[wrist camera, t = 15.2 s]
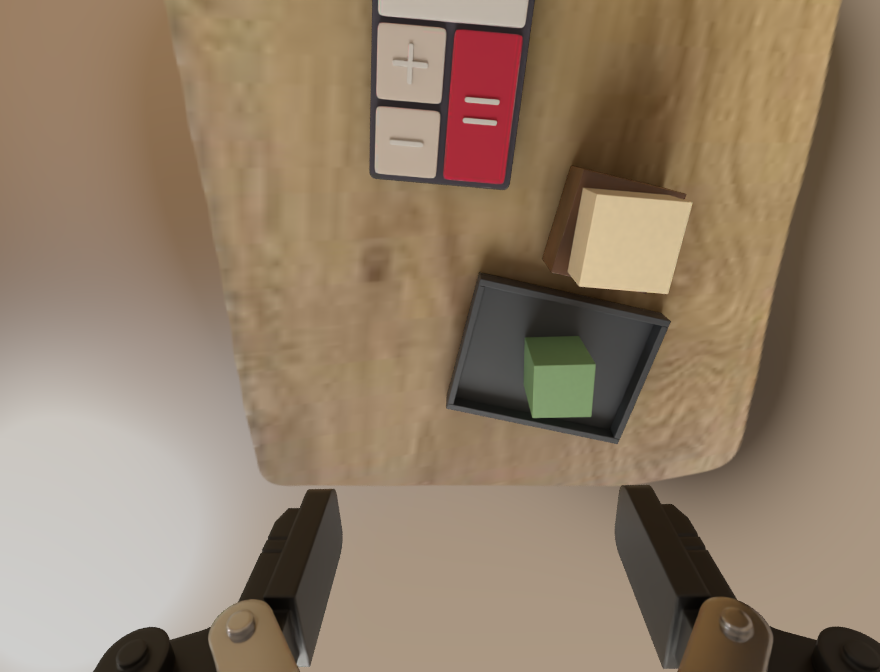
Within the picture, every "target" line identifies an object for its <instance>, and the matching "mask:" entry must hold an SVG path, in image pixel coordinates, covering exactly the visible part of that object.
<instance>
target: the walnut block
mask: <svg viewBox="0 0 880 672" xmlns="http://www.w3.org/2000/svg"><path fill="white" fill-rule="evenodd" d="M583 188H593V189H605V190H617V191H629V192H640V193H652V194H664V195H671V196H674V197H677V198H681V199H685V197H686V194H684V193H681V192H677V191H674V190H670V189H666V188H663V187H659V186H654V185H650V184H646V183H642V182H638V181H634V180H629V179H625V178H621V177H617V176H613V175H609V174H604V173H600V172H596V171H592V170H588V169H584V168H579V167H575V166H571V167H570V170H569V174H568V177H567V180H566V183H565V187H564V190H563V193H562V196H561V199H560V203H559V206H558V209H557V212H556V216H555V219H554V222H553V225H552V229H551V232H550V235H549V238H548V242H547V245H546V248H545V251H544V255H543V258H542V259H543V261H544V262H545V264H546V265H547V267H548V268H549V270H550V271H551V272H552V273H556V274H561V275H565V276H569V277H571V275H570V274H569V273H568V267H569V261H570V256H571V250H572V245H573V239H574V234H575V228H576V223H577V218H578V212H579V207H580V201H581V196H582V190H583ZM636 292H639V291H636ZM640 293H644V294H647V292H640Z"/></svg>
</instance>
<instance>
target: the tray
mask: <svg viewBox="0 0 880 672" xmlns="http://www.w3.org/2000/svg"><path fill="white" fill-rule="evenodd" d="M670 322H671V321H670V320H669V319H667V318H666V317H665V316H664V315H663V314H662V313H658V312H654V311H649V310H645V309H640V308H636V307H631V306H627V305H622V304H618V303H614V302H609V301H605V300H600V299H596V298H591V297H587V296H582V295H578V294H574V293H569V292H565V291H560V290H556V289H551V288H547V287H542V286H538V285H534V284H529V283H525V282H520V281H516V280H511V279H507V278H502V277H498V276H494V275H489V274H485V273H480V272H479V275H478V279H477V282H476V286H475V290H474V294H473V298H472V302H471V306H470V309H469V313H468V317H467V321H466V325H465V329H464V332H463V336H462V340H461V344H460V348H459V352H458V355H457V359H456V363H455V367H454V371H453V375H452V378H451V382H450V386H449V390H448V394H447V398H446V408H447V409H451V410H456V411H461V412H466V413H471V414H475V415H480V416H485V417H490V418H495V419H499V420H504V421H509V422H514V423H519V424H523V425H528V426H533V427H538V428H543V429H547V430H552V431H557V432H562V433H567V434H572V435H576V436H581V437H586V438H591V439H596V440H600V441H605V442H610V443H615V444H618V442H619V439H620V438H621V435H622V433H623V431H624V428H625V426H626V424H627V421H628V419H629V417H630V414H631V412H632V410H633V408H634V405H635V403H636V401H637V398H638V396H639V394H640V391H641V389H642V387H643V384H644V382H645V380H646V378H647V375H648V373H649V371H650V368H651V366H652V364H653V361H654V359H655V357H656V354H657V352H658V350H659V348H660V345H661V343H662V341H663V338H664V336H665V334H666V331H667V329H668V327H669V324H670ZM560 336H579V337H580V339H581V340H582V342H583V344H584V345H585V347H586V349H587V350H588V352H589V354H590V355H591V357H592V359H593V360H594V362H595V364H596V369H595V380H594V392H593V403H592V415H591V417H558V418H532V415H531V411H530V407H529V403H528V400H527V396H526V392H525V388H524V346H525V337H560Z"/></svg>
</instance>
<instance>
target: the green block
mask: <svg viewBox="0 0 880 672" xmlns="http://www.w3.org/2000/svg"><path fill="white" fill-rule="evenodd" d="M595 369H596V364H595V362H594V360H593V359H592V357H591V355H590V354H589V352H588V350H587V349H586V347H585V345H584V344H583V342H582V340H581V339H580V337H579V336H560V337H525V346H524V388H525V392H526V396H527V400H528V403H529V407H530V411H531V415H532V418H558V417H591V415H592V403H593V392H594V380H595Z"/></svg>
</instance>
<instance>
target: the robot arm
mask: <svg viewBox="0 0 880 672" xmlns="http://www.w3.org/2000/svg"><path fill="white" fill-rule="evenodd" d="M615 540H616V546H617V550H618V553H619V556H620V558H621V561H622V563H623V566H624V569H625V571H626V573H627V576H628V579H629V582H630V584H631V586H632V589H633V592H634V595H635V597H636V600H637V602H638V605H639V608H640V610H641V613H642V615H643V618H644V621H645V623H646V626H647V628H648V631H649V634H650V636H651V639H652V641H653V644H654V647H655V649H656V652H657V654H658V657H659V660H660V662H661V665H662V667H663V668H664V669H667V668H669V669H675V668H676V669H677V668H678V672H880V643H878V642H877V641H875V640H874V639H872V638H870V637H869V636H867V635H865V634H863V633H860V632H858V631H855V630H852V629H849V628H845V627H829V628H826V629H824V630H823V631H822V632H821V633H820V634H819V636H818V639H817V640H814V639H810V638H806V637H803V636H799V635H796V634H792V633H788V632H784V631H781V630H778V629H775V628H773V627H771V626H769V625H768V623H767V622H766V621H765V619H764V618H763V617H762V616H761V615H760V614H759V613H758V612H757V611H755V610H754V609H753V608H751V607H750V606H748V605H746V604H745V603H743V602H741V601H738V600H737V599H736V597H735V595H734V594H733V592H732V590H731V589H730V587H729V585H728V584H727V582H726V581H725V579H724V577H723V575H722V574H721V572H720V570H719V569H718V567H717V565H716V564H715V562H714V560H713V559H712V557H711V555H710V554H709V552H708V550H706V549H705V545H704V544H703V542H702V540H701V539H700V537H698V534H697V532H696V530H695V529H694V527H693V525H692V524H691V522H690V520H689V519H688V517H687V516H685V515H684V514H683V513H682V512H681V511H679V510H678V509H677V508H676V507H675V506H674V505H672V504H661V503H660V501H659V499H658V498H657V496H656V494H655V492H654V490H653V489H652V487H651V486H650V485H622V486H621V487H620V490H619V497H618V505H617V514H616V523H615ZM341 549H342V526H341V519H340V513H339V506H338V500H337V494H336V491H335V489H309V490H307V492H306V494H305V496H304V499H303V501H302V504H301V506H300V508H288V510H286V512H285V513H283V515H282V516H280V518H279V519H278V520H277V521H276V522H275V523H274V526H273V528H272V530H271V532H270V534H269V536H268V540H267V541H266V543H265V545H264V547H263V549H262V553H261V554H260V556H259V558H258V560H257V562H256V565H255V567H254V569H253V571H252V573H251V576H250V578H249V580H248V582H247V584H246V586H245V588H244V591H243V593H242V595H241V597H240V599H239V601H238V603H236V604H233V605H232V606H230V607H228V608H227V609H226V610H224V611H223V612H222V613H221V614H220V615H219V616H218V617H217V618H216V619H215V621H214V623H213V624H212V626H211V627H209V628H207V629H205V630H202V631H199V632H195V633H192V634H189V635H185V636H182V637H179V638H176V639H172V640H169V637H168V635H167V633H166V632H165V631H164V630H162V629H160V628H156V627H147V628H143V629H138V630H136V631H133V632H131V633H130V634H127V635H126V636H124V637H122V638H121V639H120V640H118V641H117V642H116V643H114V644H113V645H112V646H111V647H110V648H109V649H108V650H107V652H106V653H105V654H104V655H103V657H102V658H101V660H100V662H99V663H98V665H97V667H96V668H95V670H94V671H93V672H300V671H299V669H298V667H310V665H311V661H312V657H313V654H314V650H315V646H316V643H317V639H318V635H319V631H320V628H321V624H322V621H323V617H324V613H325V610H326V606H327V602H328V598H329V595H330V591H331V587H332V584H333V580H334V576H335V573H336V569H337V565H338V561H339V558H340V554H341Z"/></svg>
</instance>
